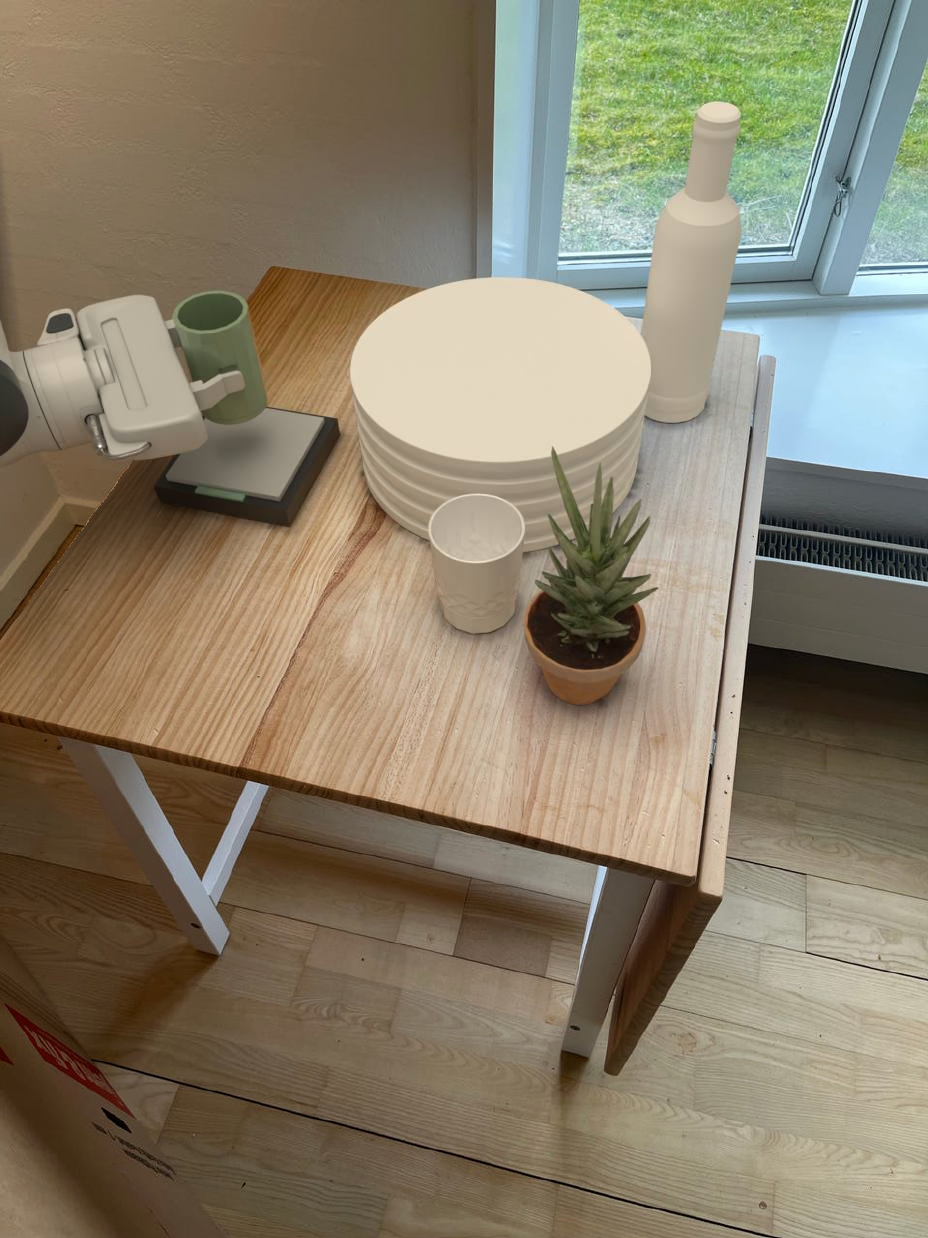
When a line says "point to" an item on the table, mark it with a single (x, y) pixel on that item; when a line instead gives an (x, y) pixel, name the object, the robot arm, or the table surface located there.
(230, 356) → the tumbler
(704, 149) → the bottle
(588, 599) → the potted plant
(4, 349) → the robot arm
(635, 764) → the table surface
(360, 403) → the plate stack
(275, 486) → the scale
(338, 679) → the table surface
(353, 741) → the table surface
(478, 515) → the white cup
